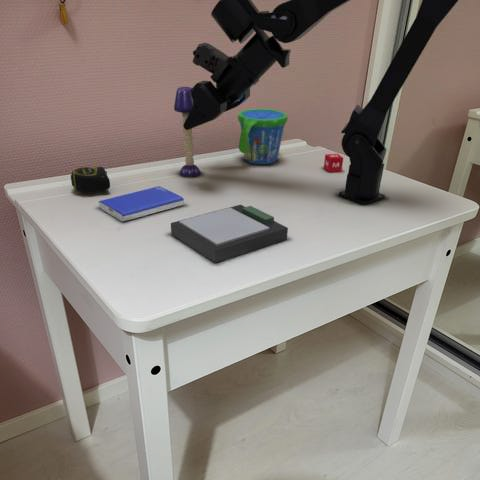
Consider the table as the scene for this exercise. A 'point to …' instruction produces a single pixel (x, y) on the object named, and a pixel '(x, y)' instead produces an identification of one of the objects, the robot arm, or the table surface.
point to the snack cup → (261, 134)
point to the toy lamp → (184, 106)
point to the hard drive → (141, 203)
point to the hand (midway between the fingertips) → (194, 123)
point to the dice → (333, 162)
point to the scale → (229, 232)
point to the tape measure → (90, 179)
